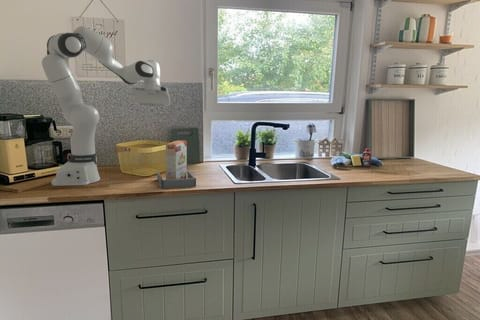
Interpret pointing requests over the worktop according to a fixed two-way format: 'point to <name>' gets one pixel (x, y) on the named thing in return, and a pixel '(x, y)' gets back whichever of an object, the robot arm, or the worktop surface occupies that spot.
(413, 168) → the worktop surface
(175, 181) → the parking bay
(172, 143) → the cracker box
